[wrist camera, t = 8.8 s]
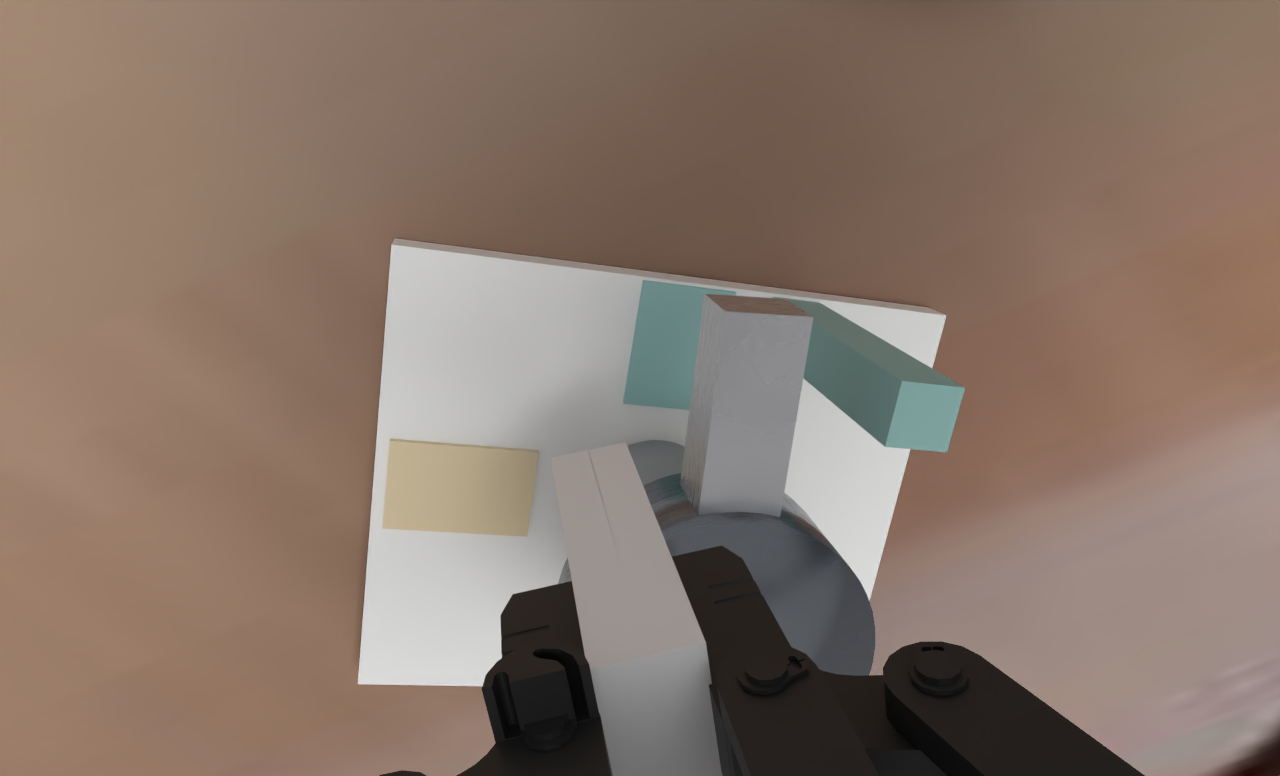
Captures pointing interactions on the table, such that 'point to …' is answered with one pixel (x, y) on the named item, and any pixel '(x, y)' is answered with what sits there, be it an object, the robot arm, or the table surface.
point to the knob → (760, 480)
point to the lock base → (593, 430)
